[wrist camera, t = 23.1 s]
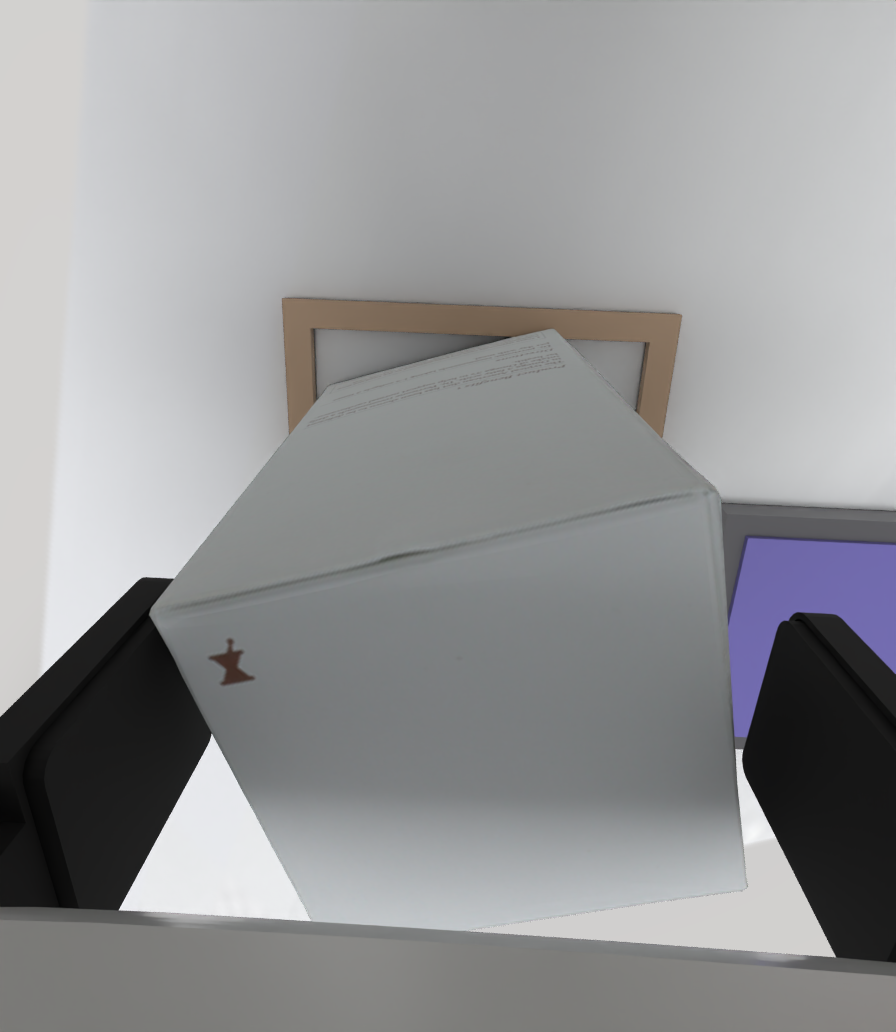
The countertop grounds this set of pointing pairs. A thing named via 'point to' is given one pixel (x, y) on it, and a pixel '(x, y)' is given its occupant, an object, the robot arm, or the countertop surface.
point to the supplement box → (472, 649)
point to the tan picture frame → (478, 321)
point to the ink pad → (803, 583)
